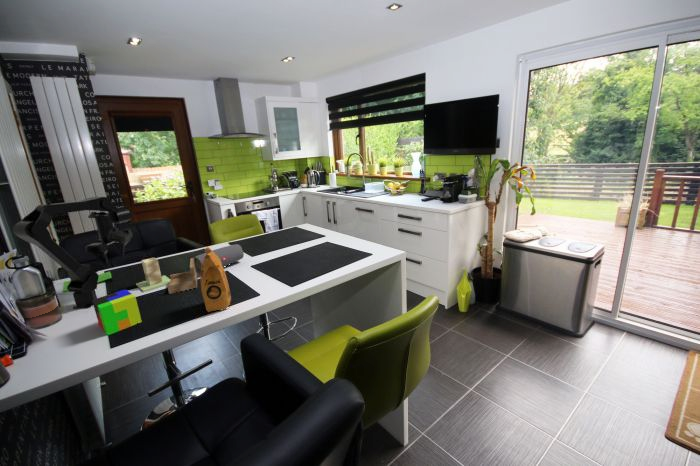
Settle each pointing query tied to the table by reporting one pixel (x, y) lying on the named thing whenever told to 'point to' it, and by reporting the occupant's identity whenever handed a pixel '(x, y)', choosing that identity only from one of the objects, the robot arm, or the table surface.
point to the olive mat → (146, 287)
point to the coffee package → (214, 283)
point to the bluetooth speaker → (222, 256)
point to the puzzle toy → (117, 311)
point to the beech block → (152, 271)
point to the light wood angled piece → (183, 280)
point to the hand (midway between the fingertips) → (114, 261)
